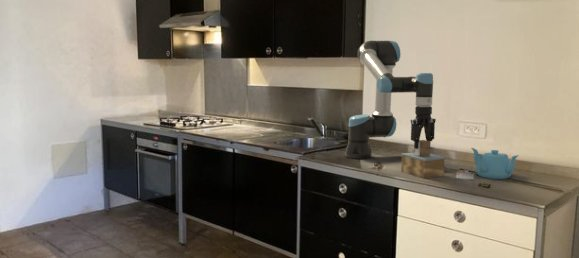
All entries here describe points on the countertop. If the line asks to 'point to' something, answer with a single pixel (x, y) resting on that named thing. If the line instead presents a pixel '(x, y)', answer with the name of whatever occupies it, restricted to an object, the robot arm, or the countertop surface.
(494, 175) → the teapot
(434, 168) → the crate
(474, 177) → the countertop surface
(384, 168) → the countertop surface
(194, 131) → the countertop surface
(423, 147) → the block
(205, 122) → the countertop surface
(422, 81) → the robot arm
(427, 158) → the lid
